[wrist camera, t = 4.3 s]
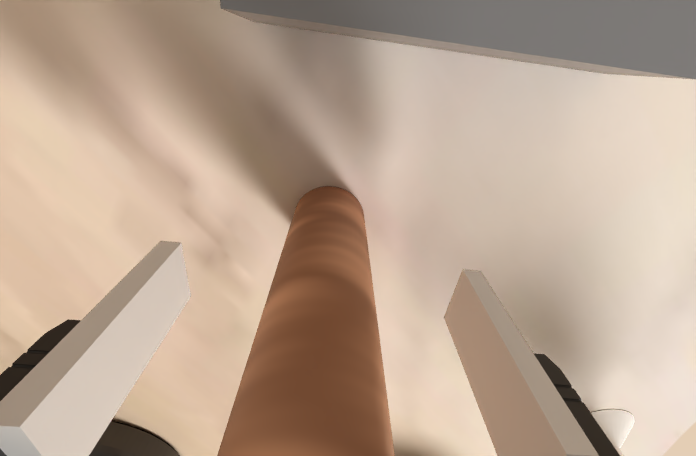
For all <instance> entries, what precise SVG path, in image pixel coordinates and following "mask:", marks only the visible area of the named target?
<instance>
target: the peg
mask: <svg viewBox="0 0 696 456" xmlns="http://www.w3.org/2000/svg"><path fill="white" fill-rule="evenodd" d="M217 456H394V448H393V440H392V432H391V424H390V416H389V409H388V401H387V393H386V385H385V377H384V370H383V362H382V354H381V346H380V338H379V330H378V323H377V315H376V307H375V299H374V291H373V283H372V276H371V268H370V260H369V252H368V244H367V237H366V229H365V221H364V214H363V209H362V207H361V205H360V203H359V201H358V200H357V199H356V198H355V197H354V196H353V195H352V194H351V193H349V192H348V191H346V190H344V189H341V188H338V187H332V186H325V187H319V188H316V189H313V190H311V191H309V192H308V193H306V194H305V195H304V196H303V197H302V198H301V199H300V201H299V202H298V204H297V206H296V209H295V212H294V216H293V219H292V222H291V225H290V228H289V231H288V235H287V238H286V241H285V244H284V247H283V250H282V253H281V257H280V260H279V263H278V266H277V269H276V272H275V276H274V279H273V282H272V285H271V288H270V291H269V294H268V298H267V301H266V304H265V307H264V310H263V313H262V317H261V320H260V323H259V326H258V329H257V332H256V335H255V339H254V342H253V345H252V348H251V351H250V354H249V358H248V361H247V364H246V367H245V370H244V373H243V376H242V380H241V383H240V386H239V389H238V392H237V395H236V399H235V402H234V405H233V408H232V411H231V414H230V417H229V421H228V424H227V427H226V430H225V433H224V436H223V440H222V443H221V446H220V449H219V452H218V455H217Z"/></svg>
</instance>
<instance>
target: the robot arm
mask: <svg viewBox="0 0 696 456" xmlns="http://www.w3.org/2000/svg"><path fill="white" fill-rule="evenodd" d="M190 297H191V294H190V288H189V283H188V277H187V271H186V266H185V260H184V255H183V249H182V243H179V242H168V241H160V242H159V243H158V244H157V245H156V246H155V247H154V248H153V249H152V250H151V251H150V252H149V253H148V254H147V255H146V256H145V257H144V258H143V259H142V260H141V261H140V262H139V263H138V264H137V265H136V266H135V267H134V268H133V269H132V270H131V271H130V272H129V273H128V274H127V275H126V276H125V277H124V278H123V279H122V280H121V281H120V282H119V283H118V284H117V285H116V286H115V287H114V288H113V289H112V290H111V291H110V292H109V293H108V294H107V295H106V296H105V297H104V298H103V299H102V300H101V301H100V302H99V303H98V304H97V305H96V306H95V307H94V308H93V309H92V310H91V311H90V312H89V313H88V314H87V315H86V316H85V317H84V318H83V319H82V320H81V321H80V320H67V321H65V322H63V323H62V324H60V325H58V326H57V327H55V328H53V329H52V330H50V331H48V332H47V333H45V334H44V335H43V336H42V337H41V338H40V339H39V340H38V341H37V342H35V343H34V344H33V345H32V346H31V347H30V348H29V349H28V352H27V353H24V354H22V355H21V356H20V357H19V358H18V359H17V360H16V361H15V362H14V363H13V365H12V367H8V368H7V369H6V370H5V371H4V372H3V373H2V374H1V375H0V456H179V455H178V454H177V453H176V451H175V450H174V449H173V448H171V447H170V446H169V445H168V444H166V443H165V442H163V441H162V440H160V439H158V438H156V437H155V436H153V435H151V434H148V433H146V432H144V431H141V430H139V429H136V428H133V427H130V426H127V425H123V424H119V423H115V422H111V420H112V419H113V417H114V416H115V414H116V413H117V411H118V410H119V408H120V406H121V405H122V403H123V402H124V400H125V399H126V397H127V395H128V394H129V392H130V391H131V389H132V388H133V386H134V385H135V383H136V381H137V380H138V378H139V377H140V375H141V374H142V372H143V370H144V369H145V367H146V366H147V364H148V363H149V361H150V360H151V358H152V356H153V355H154V353H155V352H156V350H157V349H158V347H159V346H160V344H161V342H162V341H163V339H164V338H165V336H166V335H167V333H168V331H169V330H170V328H171V327H172V325H173V324H174V322H175V321H176V319H177V317H178V316H179V314H180V313H181V311H182V310H183V308H184V306H185V305H186V303H187V302H188V300H189V299H190ZM444 318H445V321H446V323H447V326H448V329H449V331H450V334H451V336H452V339H453V341H454V344H455V347H456V349H457V352H458V354H459V357H460V360H461V362H462V365H463V367H464V370H465V373H466V375H467V378H468V380H469V383H470V386H471V388H472V391H473V393H474V396H475V398H476V401H477V404H478V406H479V409H480V411H481V414H482V417H483V419H484V422H485V424H486V427H487V430H488V432H489V435H490V437H491V440H492V443H493V445H494V448H495V450H496V453H497V455H498V456H620V455H619V453H618V452H617V450H616V449H615V447H614V446H613V444H612V443H611V442H610V440H609V439H608V437H607V436H606V434H605V433H604V432H603V430H602V429H601V427H600V426H599V424H598V423H597V421H596V420H595V419H594V417H593V416H592V414H591V413H590V411H589V410H588V408H587V407H586V406H585V404H584V403H582V402H581V398H580V397H579V396H578V394H577V393H576V391H575V390H574V389H572V387H571V384H570V383H569V381H568V380H567V378H566V377H565V375H564V374H563V372H562V371H561V370H560V368H559V367H557V366H556V365H555V364H554V363H553V362H552V361H551V360H550V359H549V358H548V357H547V356H546V355H544V354H534V353H533V352H532V350H531V349H530V347H529V346H528V344H527V343H526V341H525V339H524V338H523V336H522V335H521V333H520V332H519V330H518V329H517V327H516V325H515V324H514V322H513V321H512V319H511V318H510V316H509V314H508V313H507V311H506V310H505V308H504V307H503V305H502V304H501V302H500V300H499V299H498V297H497V296H496V294H495V293H494V291H493V289H492V288H491V286H490V285H489V283H488V282H487V280H486V279H485V277H484V275H483V274H482V272H481V271H475V270H465V269H463V270H462V273H461V275H460V278H459V280H458V283H457V286H456V288H455V291H454V293H453V296H452V298H451V301H450V303H449V306H448V309H447V311H446V314H445V316H444Z"/></svg>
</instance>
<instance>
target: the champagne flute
mask: <svg viewBox="0 0 696 456" xmlns="http://www.w3.org/2000/svg"><path fill="white" fill-rule="evenodd" d="M591 414H592V416H593V417H594V419H595V420H596V421H597V423H598V424H599V426H600V427H601V429H602V430H603V432H604V433H605V434H606V436H607V437H608V439H609V440H610V442H611V443H612V444H613V446H614V447H615V449H616V450H617V452H618V453H619V455H620V456H624V455H623V454H622V452H621V451H620V448H621V446H622V444H623V443H624V441H625V439H626V437H627V436H628V434H629V432H630V430H631V428H632V427H633V425H634V422H635V419H634V416H633V415H632V414H631V413H629V412H627V411H624V410H617V409H609V410H601V411H596V412H592V413H591Z"/></svg>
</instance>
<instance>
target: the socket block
mask: <svg viewBox="0 0 696 456" xmlns="http://www.w3.org/2000/svg"><path fill="white" fill-rule="evenodd" d="M220 2H221V9H224V10H226V11H229V12H231V13H234V14H236V15H239V16H241V17H244V18H246V19H249V20H251V21H254V22H259V23H265V24H272V25H279V26H286V27H293V28H299V29H306V30H313V31H320V32H326V33H333V34H340V35H347V36H354V37H360V38H367V39H374V40H381V41H387V42H394V43H401V44H408V45H415V46H421V47H428V48H435V49H442V50H448V51H455V52H462V53H469V54H476V55H482V56H489V57H496V58H503V59H509V60H516V61H523V62H530V63H537V64H543V65H550V66H557V67H564V68H570V69H577V70H584V71H591V72H598V73H604V74H617V75H633V76H650V77H666V78H683V79H696V0H220Z"/></svg>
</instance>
